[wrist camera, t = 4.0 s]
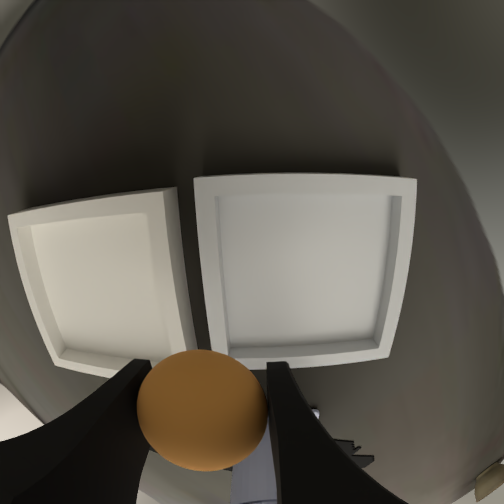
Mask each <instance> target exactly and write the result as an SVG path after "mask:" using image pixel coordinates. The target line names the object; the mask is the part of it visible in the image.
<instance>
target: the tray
mask: <svg viewBox="0 0 504 504" xmlns="http://www.w3.org/2000/svg"><path fill="white" fill-rule="evenodd" d="M416 191H417V179H413V178H407V177H401V176H388V175H372V174H352V173H314V172H285V173H247V174H226V175H210V176H200V177H196V178H194V193H195V206H196V219H197V231H198V241H199V252H200V261H201V271H202V280H203V288H204V296H205V304H206V312H207V320H208V327H209V334H210V341H211V348H212V351H215V352H219V353H222V354H225V355H228V356H230V357H232V358H234V359H235V360H237V361H239V362H240V363H241V364H243V365H244V366H245V367H247V368H248V369H249V370H260V369H267V366H266V362H277V361H286V362H287V363H289V367H290V368H303V367H316V366H327V365H337V364H346V363H354V362H361V361H368V360H375V359H381V358H387V357H389V353H390V350H391V346H392V343H393V339H394V335H395V331H396V327H397V323H398V319H399V315H400V311H401V306H402V301H403V297H404V292H405V286H406V281H407V275H408V269H409V263H410V256H411V248H412V240H413V231H414V221H415V208H416Z"/></svg>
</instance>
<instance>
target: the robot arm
mask: <svg viewBox="0 0 504 504" xmlns="http://www.w3.org/2000/svg"><path fill="white" fill-rule="evenodd" d="M266 366H267V396H268V423H267V427H266V430H265V433H264V436H263V438H262V440H261V442H260V443H259V445H258V446H257V448H256V449H255V450H254V451H253V452H252V453H251V454H250V455H249V456H248V457H247V458H245V459H244V460H242V461H241V462H239V463H237V464H235V465H233V471H232V483H231V495H230V504H408V503H406V502H405V501H403V500H402V499H400V498H398V497H397V496H395V495H394V494H393V493H391V492H390V491H388V490H387V489H386V488H384V487H383V486H381V485H380V484H379V483H378V482H377V481H375V480H374V479H373V478H372V477H371V476H369V475H368V474H367V473H366V472H365V471H364V470H362V469H361V468H360V467H359V466H358V465H357V464H356V463H355V462H354V461H353V460H352V459H351V458H350V457H349V456H348V455H347V454H346V453H345V452H344V451H343V450H342V449H341V448H340V446H339V445H338V444H337V443H336V442H335V441H334V439H333V438H332V437H331V436H330V435H329V433H328V432H327V431H326V429H325V428H324V427H323V425H322V424H321V423H320V421H319V420H318V418H319V411H318V410H316V409H311V408H310V406H309V404H308V403H307V401H306V400H305V398H304V396H303V394H302V393H301V391H300V389H299V387H298V385H297V383H296V381H295V379H294V377H293V374H292V372H291V369H290V367H289V363H287V362H286V361H277V362H266ZM151 370H152V366H151V363H150V360H146V359H135V358H134V359H133V360H132V361H130V362H129V363H128V364H127V365H126V366H124V367H123V368H122V369H121V370H120V371H118V372H117V373H116V374H115V375H114V376H113V377H111V378H110V379H109V380H108V381H107V382H105V383H104V384H103V385H102V386H101V387H99V388H98V389H97V390H96V391H95V392H93V393H92V394H91V395H89V396H88V397H87V398H85V399H84V400H83V401H81V402H80V403H79V404H77V405H76V406H75V407H73V408H72V409H70V410H69V411H67V412H66V413H64V414H63V415H61V416H60V417H58V418H56V419H54V420H53V421H51V422H49V423H47V424H45V425H43V426H41V427H39V428H37V429H35V430H32V431H30V432H28V433H26V434H23V435H20V436H18V437H15V438H11V439H8V440H5V441H1V442H0V504H136V499H137V493H138V488H139V482H140V477H141V473H142V470H143V467H144V464H145V461H146V458H147V455H148V452H149V449H150V446H151V445H150V444H149V442H148V441H147V439H146V438H145V436H144V434H143V432H142V430H141V427H140V425H139V421H138V416H137V398H138V393H139V390H140V387H141V385H142V383H143V381H144V379H145V377H146V376H147V374H148V373H149V372H150V371H151Z"/></svg>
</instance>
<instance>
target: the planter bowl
mask: <svg viewBox="0 0 504 504" xmlns="http://www.w3.org/2000/svg"><path fill="white" fill-rule="evenodd" d="M476 480H477V481H476V485H475V497H476V502H478V501H480V500H481V499H483V498H484V497H486V496H487V495H489V494H490V493H491V492H493V491H494V490H496V489H497V488H498V487H499V486H501V485H502V484H503V483H504V465H503V464H499V463H498V462H496V463H494V464H493V465H491V466H490V467H488V468H487V469H486V470H485V471H483V472H482V473H481V474H479V476H478V477H477V478H476Z"/></svg>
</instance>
